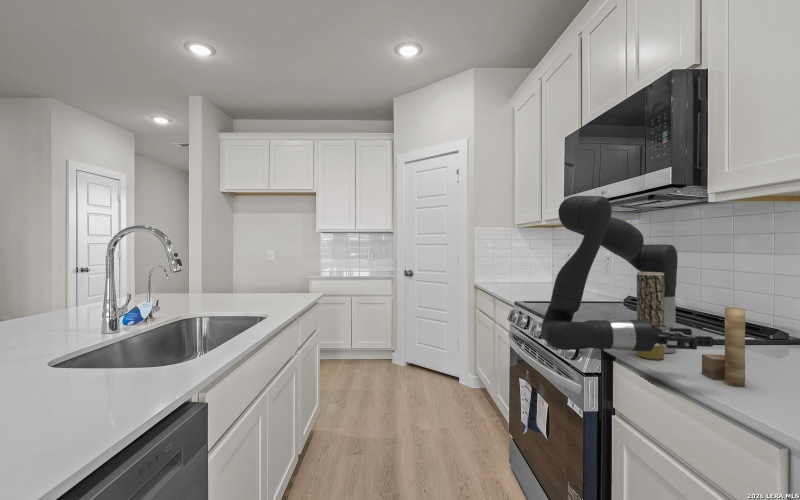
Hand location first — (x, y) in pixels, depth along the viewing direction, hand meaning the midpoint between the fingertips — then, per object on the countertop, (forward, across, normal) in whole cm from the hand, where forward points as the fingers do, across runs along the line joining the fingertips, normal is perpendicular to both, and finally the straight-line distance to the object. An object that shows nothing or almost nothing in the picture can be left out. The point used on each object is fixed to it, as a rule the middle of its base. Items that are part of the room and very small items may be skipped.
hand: (701, 337), depth 92 cm
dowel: (+7, 0, +11) cm, 13 cm away
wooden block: (+8, +5, +11) cm, 14 cm away
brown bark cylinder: (-2, +21, +11) cm, 24 cm away
